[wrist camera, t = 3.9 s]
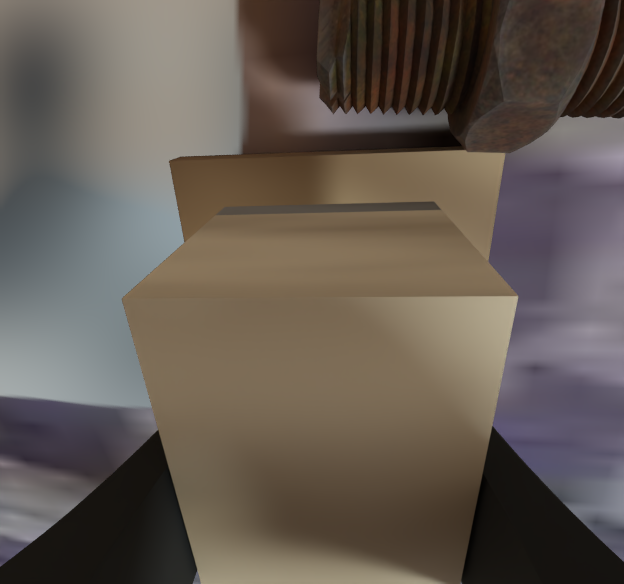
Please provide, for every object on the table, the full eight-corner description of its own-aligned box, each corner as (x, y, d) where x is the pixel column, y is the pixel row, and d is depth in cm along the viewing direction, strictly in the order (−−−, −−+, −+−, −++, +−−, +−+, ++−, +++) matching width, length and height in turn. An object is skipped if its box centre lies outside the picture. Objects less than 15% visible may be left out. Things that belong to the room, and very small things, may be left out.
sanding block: (409, 472, 13) (443, 665, 9) (261, 468, 14) (219, 650, 9) (433, 201, 9) (518, 296, 5) (224, 206, 10) (121, 298, 5)
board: (443, 496, 19) (447, 516, 18) (239, 489, 20) (234, 507, 19) (494, 145, 12) (506, 148, 11) (181, 156, 13) (168, 160, 12)
